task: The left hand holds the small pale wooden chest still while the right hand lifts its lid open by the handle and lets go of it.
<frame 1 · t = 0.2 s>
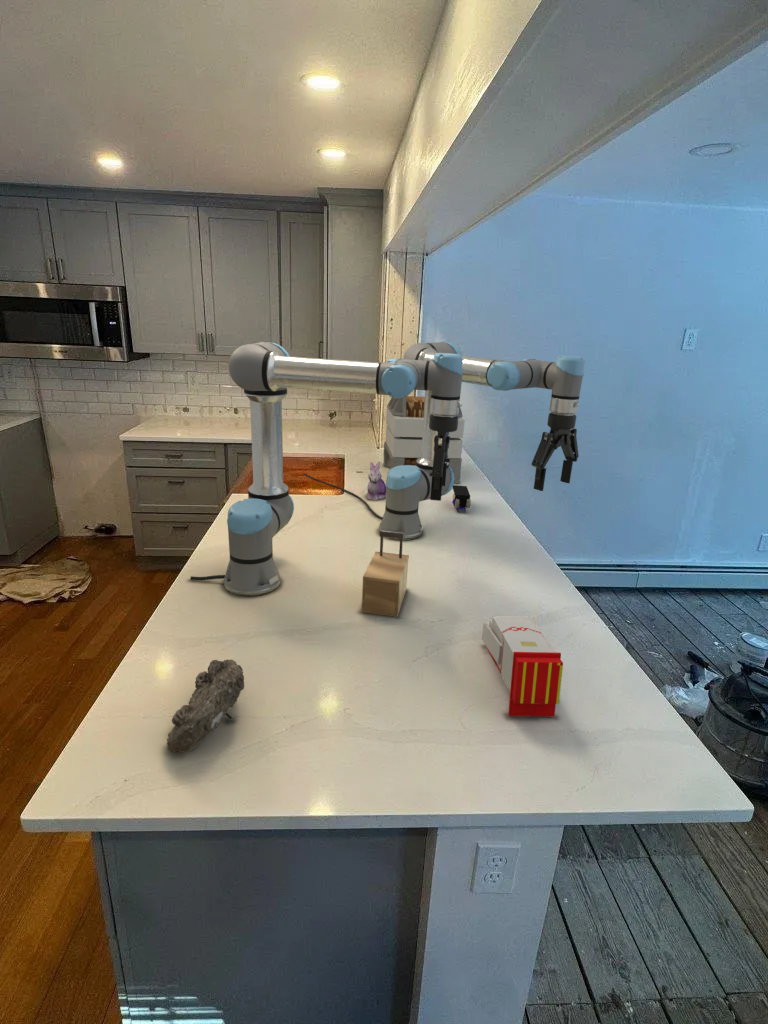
left hand: (438, 492, 155), 28 cm above the counter, tool pointing down, fingers open, 13 cm apart
right hand: (551, 486, 166), 28 cm above the counter, tool pointing down, fingers open, 13 cm apart
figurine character: (460, 507, 229), on the counter
lid: (387, 553, 150), point 14 cm above the counter, hinge at 0.0°
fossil: (212, 717, 108), on the counter
toy: (514, 675, 125), on the counter
grey boxy piece: (419, 473, 275), on the counter
chest: (384, 600, 154), on the counter
figurine: (376, 497, 237), on the counter
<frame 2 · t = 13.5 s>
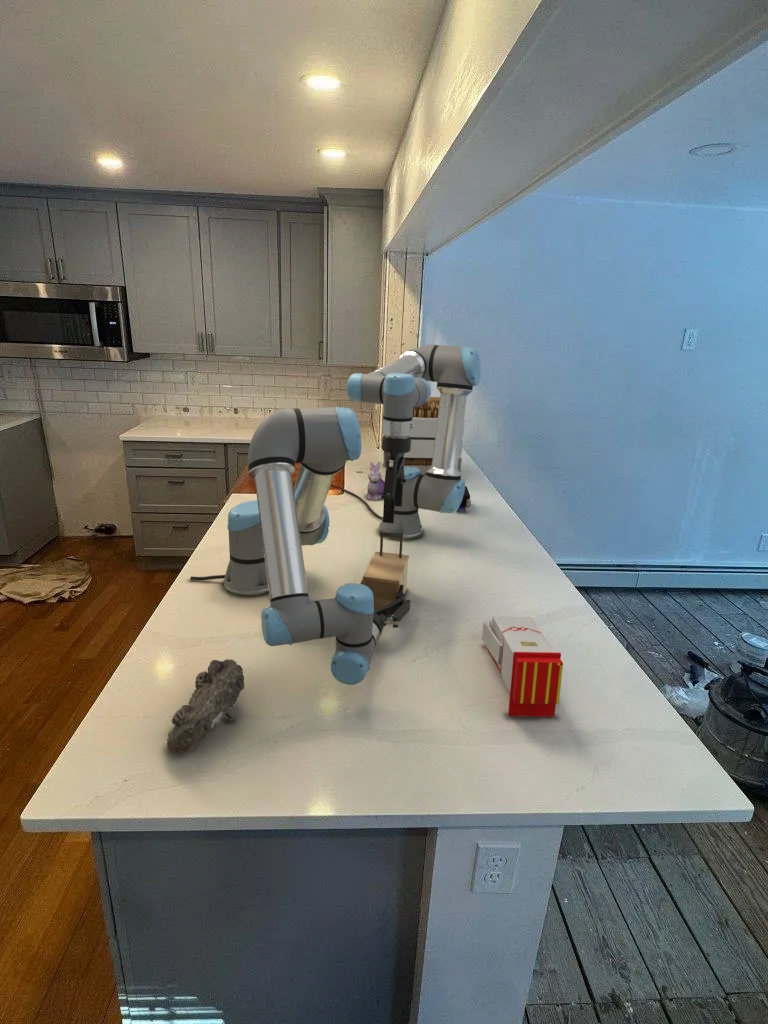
left hand: (382, 587, 148), 6 cm above the counter, tool horizontal, fingers closed on chest, 9 cm apart
right hand: (392, 513, 152), 23 cm above the counter, tool pointing down, fingers open, 13 cm apart
chest: (384, 600, 154), on the counter, touching left hand
everything else where it was.
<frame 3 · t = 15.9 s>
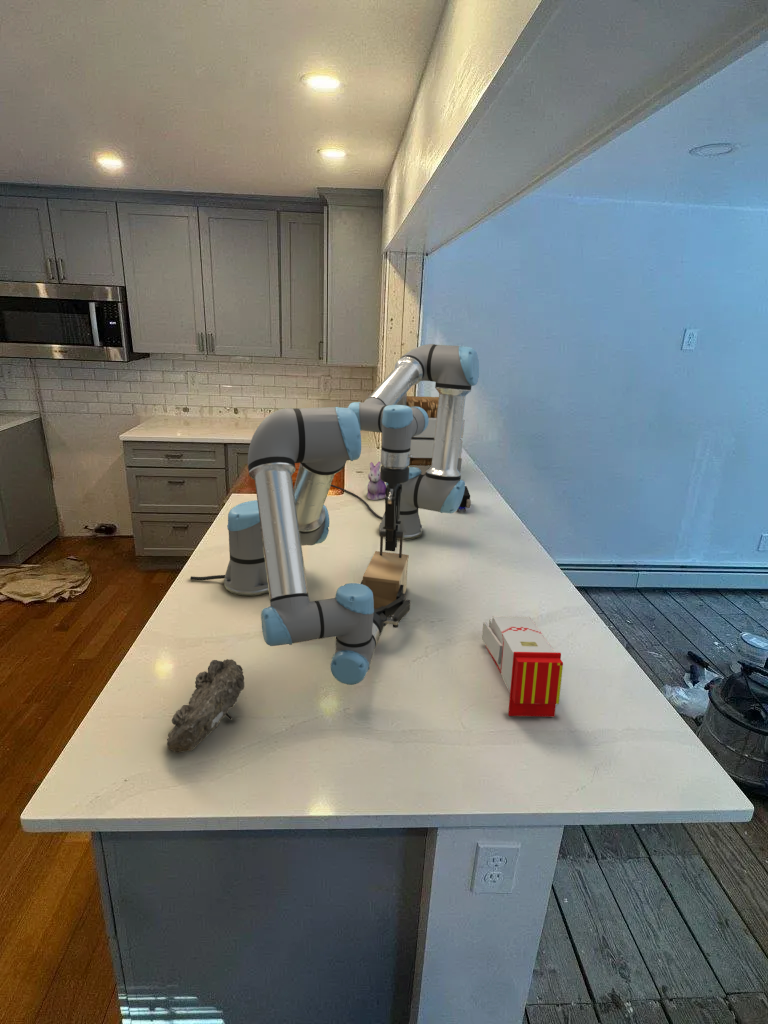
left hand: (382, 587, 148), 6 cm above the counter, tool horizontal, fingers closed on chest, 9 cm apart
right hand: (390, 548, 156), 13 cm above the counter, tool pointing down, fingers closed on lid, 2 cm apart
lid: (387, 553, 150), point 14 cm above the counter, hinge at 0.3°, touching right hand
chest: (384, 600, 154), on the counter, touching left hand
everything else where it was.
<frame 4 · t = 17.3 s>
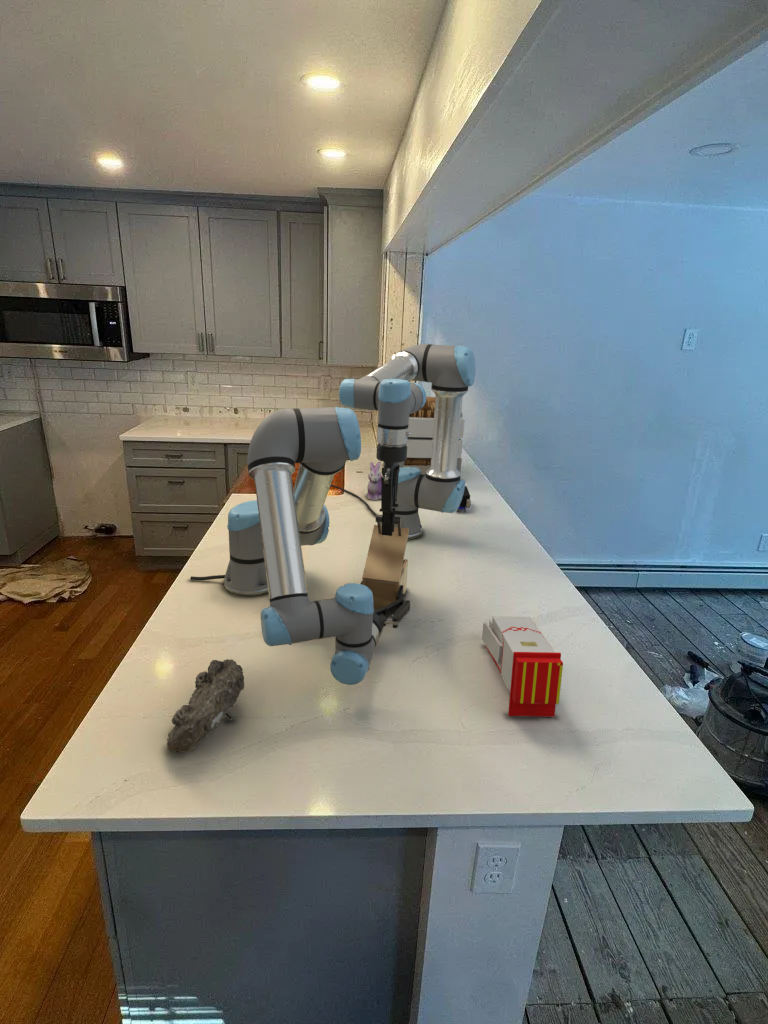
left hand: (382, 587, 147), 6 cm above the counter, tool horizontal, fingers closed on chest, 9 cm apart
right hand: (387, 532, 147), 20 cm above the counter, tool pointing down, fingers closed on lid, 2 cm apart
lid: (385, 545, 145), point 18 cm above the counter, hinge at 34.4°, touching right hand
chest: (384, 600, 154), on the counter, touching left hand
everything else where it was.
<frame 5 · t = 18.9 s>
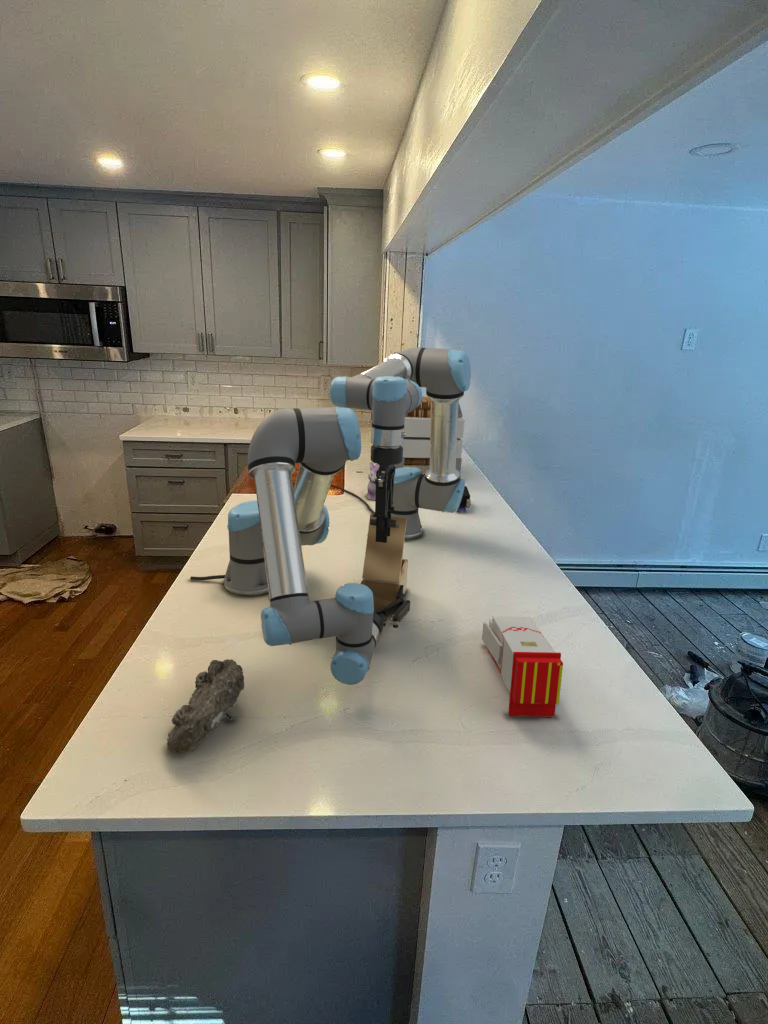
left hand: (382, 587, 147), 6 cm above the counter, tool horizontal, fingers closed on chest, 9 cm apart
right hand: (382, 538, 139), 21 cm above the counter, tool pointing down, fingers open, 4 cm apart
lid: (382, 547, 141), point 19 cm above the counter, hinge at 62.9°
chest: (384, 600, 154), on the counter, touching left hand
everything else where it was.
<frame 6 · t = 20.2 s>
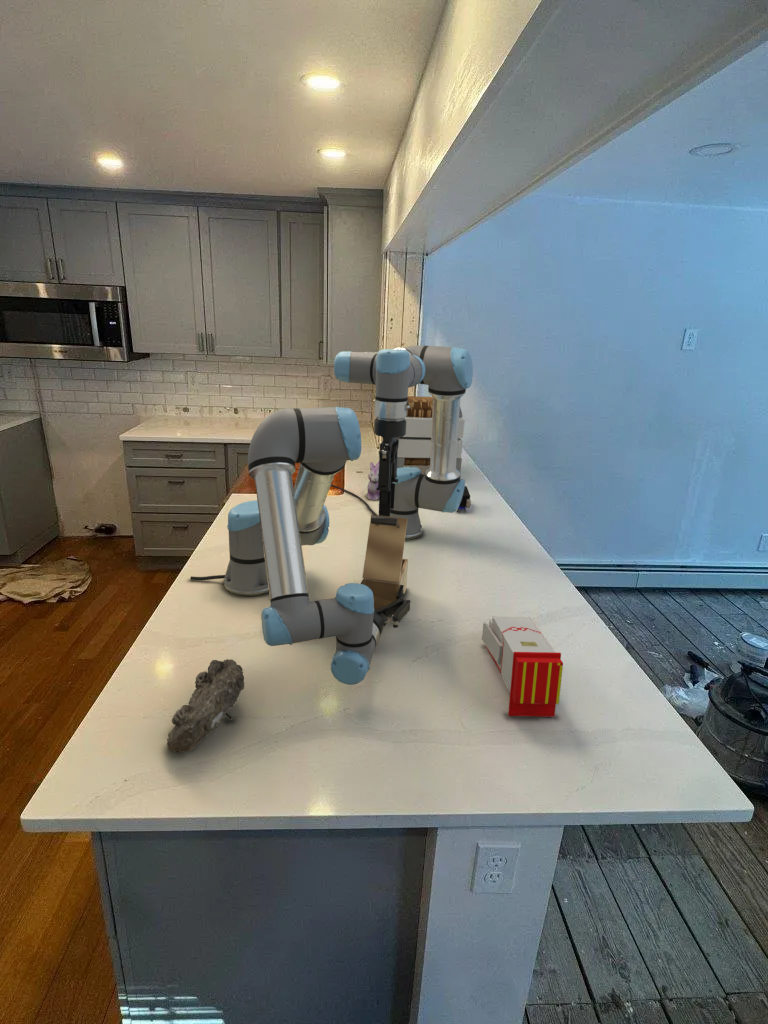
left hand: (382, 587, 148), 6 cm above the counter, tool horizontal, fingers closed on chest, 9 cm apart
right hand: (386, 511, 140), 27 cm above the counter, tool pointing down, fingers open, 5 cm apart
lid: (383, 546, 141), point 19 cm above the counter, hinge at 59.3°
chest: (384, 600, 154), on the counter, touching left hand
everything else where it was.
when the left hand's fingers open (6 cm above the counter, at t = 22.8 s): chest stays where it is, on the counter.
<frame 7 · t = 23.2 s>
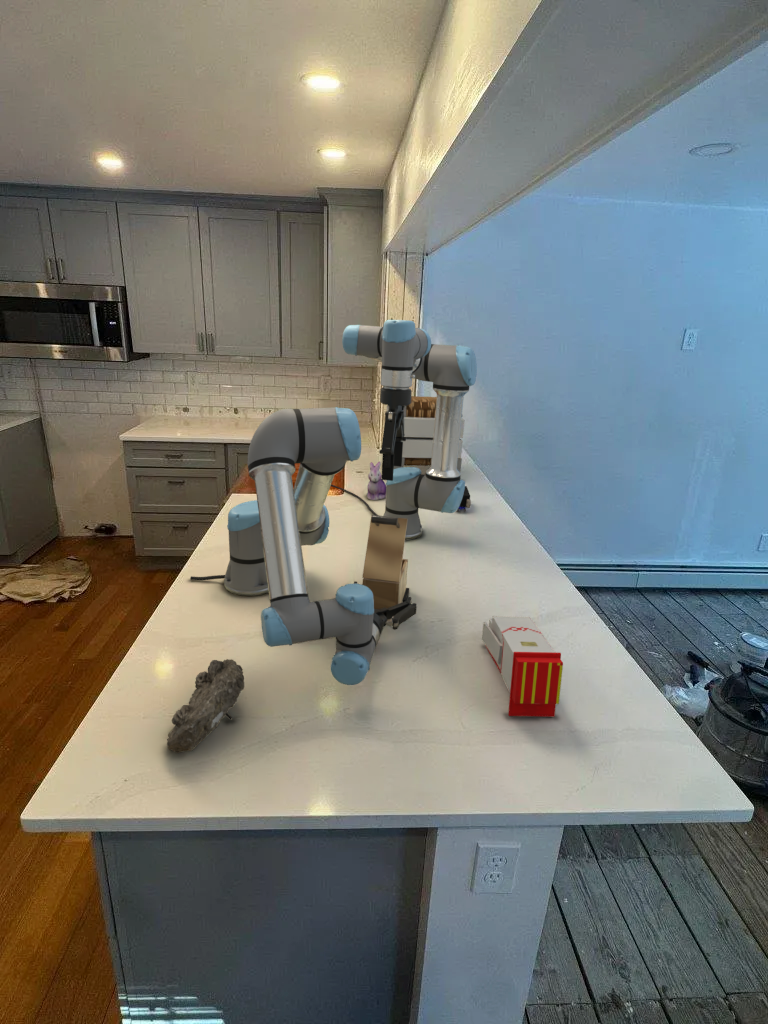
left hand: (381, 589, 146), 6 cm above the counter, tool horizontal, fingers open, 13 cm apart
right hand: (392, 472, 143), 36 cm above the counter, tool pointing down, fingers open, 13 cm apart
lid: (383, 545, 142), point 19 cm above the counter, hinge at 57.8°
chest: (384, 600, 154), on the counter
everything else where it was.
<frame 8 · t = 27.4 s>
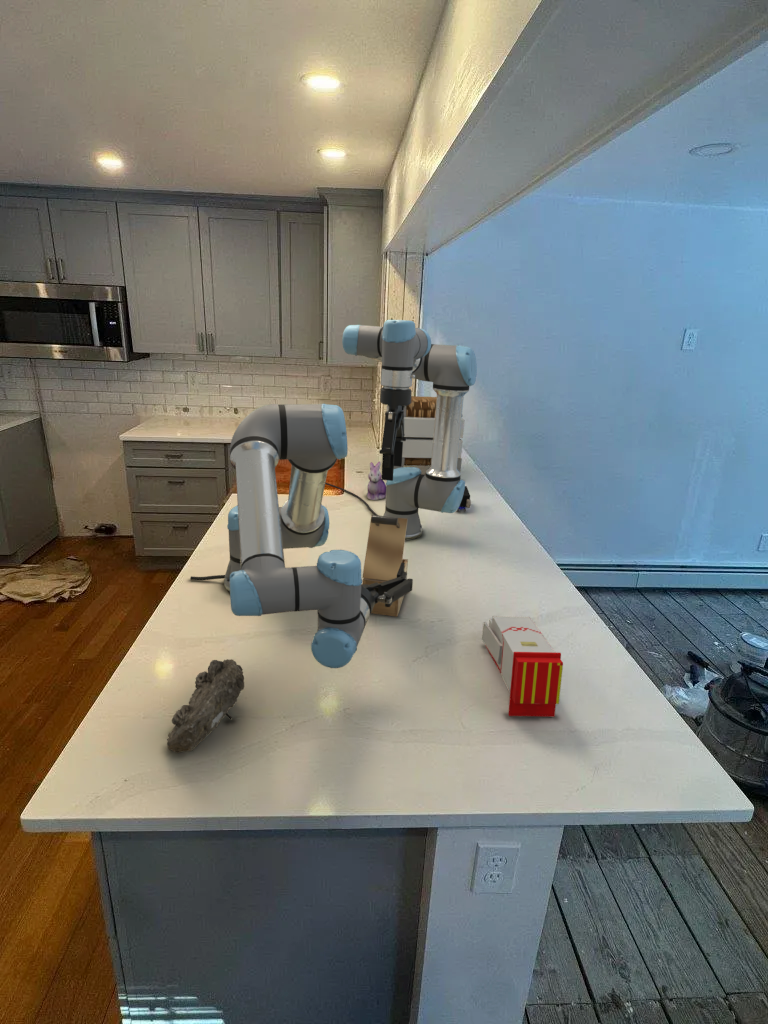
left hand: (373, 564, 130), 19 cm above the counter, tool horizontal, fingers open, 13 cm apart
right hand: (392, 472, 143), 36 cm above the counter, tool pointing down, fingers open, 13 cm apart
nothing on the counter moved.
at the end: lid at +58° (first picture: +0°); the left hand is holding nothing; the right hand is holding nothing; chest tilted 0°; chest never tilted more than 1° during the clip; chest moved 0.1 cm from its start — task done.
